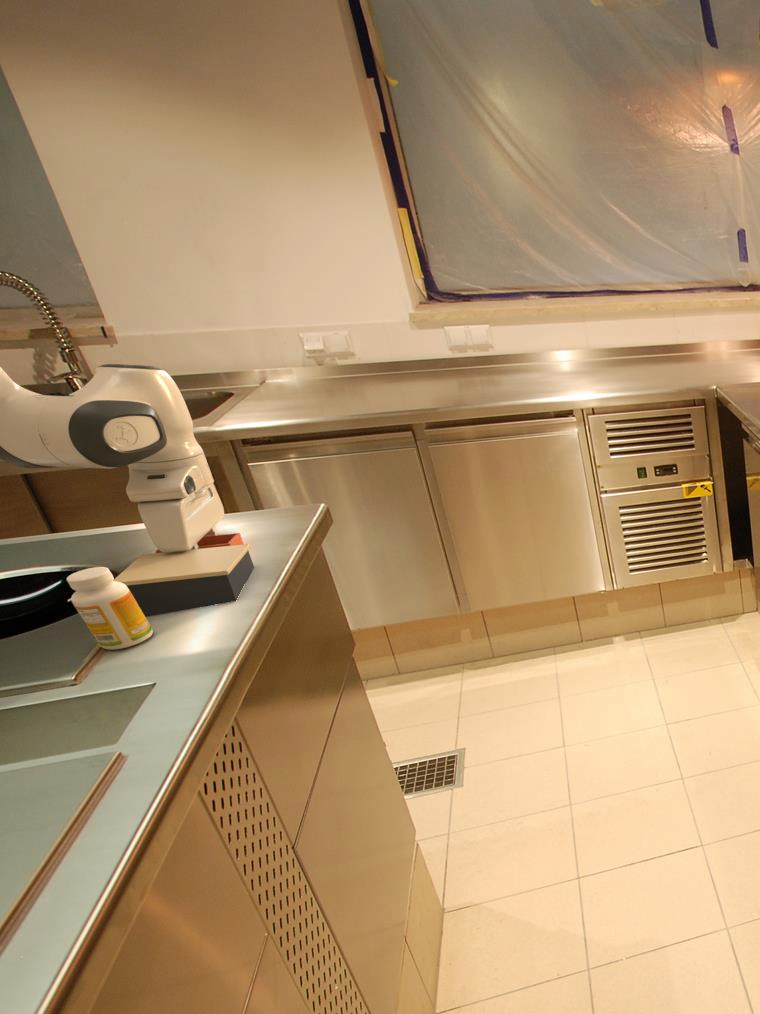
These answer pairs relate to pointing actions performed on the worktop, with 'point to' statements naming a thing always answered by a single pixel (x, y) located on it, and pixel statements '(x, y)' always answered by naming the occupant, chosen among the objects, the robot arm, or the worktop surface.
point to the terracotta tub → (218, 541)
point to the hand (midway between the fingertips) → (206, 561)
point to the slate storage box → (187, 578)
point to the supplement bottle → (108, 609)
